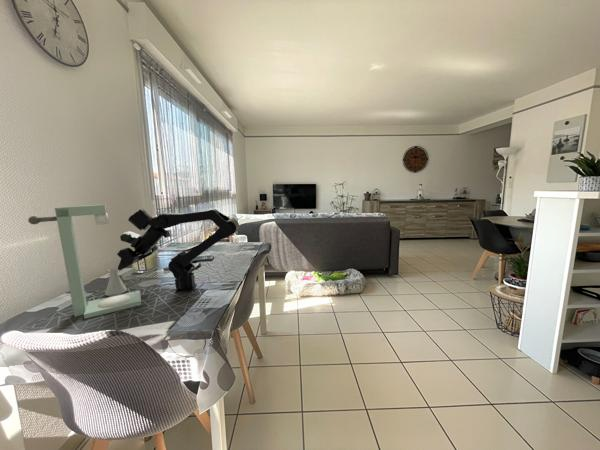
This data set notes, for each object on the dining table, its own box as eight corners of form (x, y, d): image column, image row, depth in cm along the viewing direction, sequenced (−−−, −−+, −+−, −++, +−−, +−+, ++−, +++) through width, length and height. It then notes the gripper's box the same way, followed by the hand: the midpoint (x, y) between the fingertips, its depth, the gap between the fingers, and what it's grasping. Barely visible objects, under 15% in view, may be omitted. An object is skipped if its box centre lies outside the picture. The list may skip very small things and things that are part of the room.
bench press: (140, 294, 102) (127, 202, 97) (141, 304, 92) (127, 204, 87) (53, 313, 88) (32, 208, 83) (43, 328, 78) (19, 210, 73)
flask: (116, 297, 100) (112, 272, 99) (100, 296, 102) (97, 272, 100) (131, 289, 107) (128, 266, 106) (117, 289, 109) (113, 266, 107)
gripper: (146, 221, 110) (123, 247, 111) (119, 228, 92) (91, 259, 93) (167, 238, 112) (144, 264, 113) (144, 248, 93) (117, 279, 94)
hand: (125, 266), depth 103 cm, fingers open, 9 cm apart
